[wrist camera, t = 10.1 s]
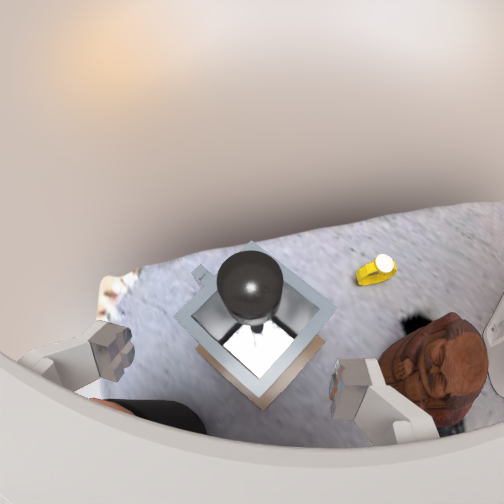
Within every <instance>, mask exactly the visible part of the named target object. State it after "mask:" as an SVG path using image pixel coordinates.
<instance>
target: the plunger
mask: <svg viewBox="0 0 504 504" xmlns="http://www.w3.org/2000/svg"><path fill="white" fill-rule="evenodd" d="M216 282H217V290H218V292H219V295H220V297H221V299H222V301H223V303H224V306H225V308H226V310H227V312H228V313H229V315H230V316H231V317H232V318H233V319H234V320H236V321H237V322H239V323H241V324H243V325H242V326H241V327H240V329H239V330H238V331H237V332H236V333H235V334H234V335H233V336H232V337H231V338H230V339H229V340H228V341H227V342H226V343H225V344H224V345H223V346H224V347H225V348H227V349H228V350H229V351H230V352H231V353H232V354H233V355H234V356H235V357H236V358H237V359H239V360H240V361H241V362H242V363H243V364H244V365H245V366H246V367H248V368H249V369H250V370H251V371H252V372H253V373H254V374H256V375H257V376H258V377H259V378H260V376H261V375H262V374H263V373H264V372H265V371H266V370H267V369H268V368H269V367H270V366H271V365H272V364H273V363H274V361H275V360H276V359H277V358H278V357H279V356H280V355H281V354H282V353H283V352H284V350H285V349H286V348H287V347H288V346H289V345H290V344H291V343H292V341H293V340H294V339H293V338H292V337H290V336H289V335H288V334H287V333H286V332H284V331H283V330H282V329H281V328H280V327H278V326H277V325H276V324H275V323H274V322H272V321H271V320H270V319H272V318H273V317H274V316H275V314H276V313H277V311H278V310H279V307H280V304H281V297H282V289H283V273H282V270H281V268H280V266H279V265H278V263H277V262H276V261H275V260H274V259H273V258H272V257H271V256H269V255H267V254H265V253H263V252H260V251H254V250H248V251H242V252H239V253H236V254H234V255H232V256H231V257H229V258H228V259H227V260H226V261H225V262H224V263H223V264H222V266H221V267H220V269H219V272H218V275H217V281H216Z"/></svg>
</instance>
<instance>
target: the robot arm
mask: <svg viewBox="0 0 504 504" xmlns="http://www.w3.org/2000/svg"><path fill="white" fill-rule="evenodd" d="M131 338H132V334H131V330H130V329H129V328H127V327H124V326H120V325H116V324H113V323H109V322H105V321H102V320H97V321H96V322H95V323H94V324H93V325H92V326H90V327H89V328H88V329H87V330H86V331H85V332H84V333H83V334H81V335H80V336H79V337H78V338H77V337H73V338H70V339H66V340H63V341H59V342H56V343H53V344H49V345H45V346H42V347H38V348H34V349H31V350H30V351H29V352H28V353H27V354H25V355H24V356H23V357H22V358H21V359H19V360H18V361H17V362H16V361H14V360H13V359H11V358H9V357H8V356H6V355H5V354H3V353H2V352H0V504H504V421H502V422H499V423H496V424H493V425H490V426H487V427H483V428H480V429H476V430H473V431H469V432H465V433H461V434H456V435H452V436H447V437H442V438H440V437H439V434H438V431H437V429H436V426H435V424H434V421H433V419H432V416H430V415H429V414H427V413H426V412H425V411H423V410H422V409H421V408H419V407H418V406H417V405H415V404H414V403H412V402H411V401H410V400H408V399H407V398H406V397H404V396H403V395H402V394H400V393H399V392H398V391H396V390H395V389H394V388H392V387H391V386H386V383H385V380H384V378H383V375H382V372H381V369H380V366H379V364H378V361H377V359H376V358H363V359H351V358H337V360H336V363H335V373H334V374H333V375H332V377H331V381H330V387H329V396H330V399H331V400H332V404H331V417H332V420H354V422H355V424H356V425H357V426H358V427H359V428H360V429H361V431H362V432H363V433H364V434H365V435H366V437H367V438H368V439H369V440H370V441H371V442H372V444H373V445H374V446H375V447H358V448H305V447H288V446H276V445H266V444H258V443H250V442H243V441H236V440H230V439H224V438H219V437H213V436H208V435H204V434H199V433H194V432H190V431H186V430H182V429H178V428H174V427H170V426H166V425H163V424H159V423H156V422H152V421H149V420H146V419H142V418H139V417H136V416H133V415H130V414H127V413H124V412H122V411H119V410H116V409H113V408H111V407H108V406H106V405H103V404H100V403H98V402H96V401H93V400H91V399H88V398H86V397H84V396H81V395H79V394H77V393H75V392H74V391H76V390H78V389H80V388H82V387H84V386H86V385H88V384H90V383H92V382H94V381H96V380H98V379H100V377H101V378H104V379H107V380H111V381H114V382H118V381H119V379H120V378H121V377H122V375H123V374H124V368H127V367H129V366H130V365H131V363H132V362H133V359H134V356H135V350H134V345H133V344H132V343H131V341H130V339H131ZM483 338H484V342H485V345H486V348H487V354H488V360H489V367H488V372H489V377H490V380H491V383H492V386H493V388H494V389H495V391H496V392H497V393H498V394H499V395H500V396H502V397H504V294H503V296H502V298H501V300H500V302H499V304H498V306H497V308H496V310H495V312H494V314H493V316H492V318H491V319H490V321H489V323H488V325H487V327H486V328H485V330H484V333H483Z"/></svg>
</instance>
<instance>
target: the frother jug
mask: <svg viewBox="0 0 504 504" xmlns="http://www.w3.org/2000/svg"><path fill="white" fill-rule="evenodd" d="M248 250H254V251H260V252H263V253H265V254H267V255H269V256H271V255H270V254H268V253H267V252H266V251H265V250H263V249H262V248H261V247H259V246H258V245H257V244H255V243H254V242H253V241H250V242H249V243H248V244H247V245H246V246H245V247H244V248H243V249H242V250H241V251H240V252H242V251H248ZM271 257H272V256H271ZM272 258H273V259H274V260H275V261H276V262H277V263H278V265H279V266H280V268H281V270H282V273H283V289H282V297H281V304H280V307H279V310H278V311H277V313H276V314H275V316H274V317H273V318H272V319H270V320H271V321H272V322H274V323H275V324H276V325H277V326H278V327H280V328H281V329H282V330H283V331H284V332H286V333H287V334H288V335H289V336H290V337H292V338H293V339H294V340H293V341H292V343H291V344H290V345H289V346H288V347H287V348H286V349H285V350H284V352H283V353H282V354H281V355H280V356H279V357H278V358H277V359H276V360H275V361H274V363H273V364H272V365H271V366H270V367H269V368H268V369H267V370H266V371H265V372H264V373H263V374H262V375H261V376H260V378H259V377H258V376H257V375H256V374H254V373H253V372H252V371H251V370H250V369H249V368H248V367H246V366H245V365H244V364H243V363H242V362H241V361H240V360H239V359H237V358H236V357H235V356H234V355H233V354H232V353H231V352H230V351H229V350H228V349H227V348H225V347H224V346H223V345H224V344H225V343H226V342H227V341H228V340H229V339H230V338H231V337H232V336H233V335H234V334H235V333H236V332H237V331H238V330H239V329H240V327H241V326H242V325H243V324H241V323H239V322H237V321H236V320H234V319H233V318H232V317H231V316H230V315H229V313H228V312H227V310H226V308H225V306H224V303H223V301H222V299H221V297H220V295H219V292H218V290H217V282H216V281H217V275H218V273H217V274H216V275H215V276H213V275H212V274H211V273H210V272H209V271H208V270H207V269H206V268H204V267H203V266H202V265H201V264H200V265H199V266H198V267H197V268H196V269H195V270H194V271H193V272H192V275H193V277H194V278H195V280H196V282H197V283H198V285H199V287H200V288H201V290H200V291H199V292H198V293H197V294H196V295H195V296H194V297H193V298H192V299H191V300H190V301H189V302H188V303H187V304H186V305H185V306H184V307H183V308H181V309H180V310H179V311H178V312H177V313H176V314H175V315H174V316H173V317H174V318H175V319H176V320H177V321H178V322H179V323H180V324H181V325H182V326H183V327H184V328H185V329H186V330H187V331H188V332H189V333H190V334H191V335H192V336H193V337H194V338H195V339H196V340H197V341H198V342H199V343H200V344H199V345H198V346H197V347H196V348H195V349H196V350H197V351H198V352H199V353H200V354H201V355H202V356H203V357H204V358H205V359H206V360H207V361H208V362H209V363H210V364H211V365H212V366H213V367H214V368H215V369H216V370H217V371H218V372H220V373H221V374H222V375H223V376H224V377H225V378H226V379H227V380H228V381H229V382H230V383H231V384H233V385H234V386H235V387H236V388H237V389H238V390H239V391H240V392H242V393H243V394H244V395H245V396H246V397H247V398H248V399H250V400H251V401H252V402H253V403H254V404H255V405H257V406H258V407H259V408H260V409H261V410H262V411H264V410H265V409H266V408H267V407H268V406H269V405H270V404H271V403H272V402H273V401H274V400H275V399H276V398H277V397H278V395H279V394H280V393H281V392H282V391H283V390H284V389H285V388H286V387H287V386H288V385H289V383H290V382H291V381H292V380H293V379H294V378H295V377H296V376H297V375H298V373H299V372H300V371H301V370H302V369H303V368H304V367H305V365H306V364H307V363H308V362H309V361H310V360H311V358H312V357H313V356H314V355H315V354H316V352H317V351H318V350H319V349H320V348H321V346H322V345H323V344H324V343H325V341H324V340H323V339H322V338H320V337H319V336H318V335H317V333H318V332H319V331H320V329H321V328H322V327H323V326H324V324H325V323H326V322H327V321H328V319H329V318H330V317H331V315H332V314H333V313H334V311H335V310H336V309H337V306H335V305H334V304H333V303H332V302H330V301H329V300H328V299H326V298H325V297H324V296H323V295H321V294H320V293H319V292H317V291H316V290H315V289H314V288H312V287H311V286H310V285H308V284H307V283H306V282H305V281H303V280H302V279H301V278H299V277H298V276H297V275H296V274H294V273H293V272H292V271H290V270H289V269H288V268H287V267H285V266H284V265H283V264H281V263H280V262H279V261H278V260H276V259H275V258H274V257H272Z"/></svg>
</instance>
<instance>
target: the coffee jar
mask: <svg viewBox="0 0 504 504" xmlns="http://www.w3.org/2000/svg"><path fill="white" fill-rule="evenodd" d="M89 399H91V400H93V401H96V402H98V403H100V404H103V405H106V406H108V407H111V408H113V409H116V410H119V411H122V412H124V413H127V414H130V415H133V416H136V417H139V418H142V419H146V420H149V421H152V422H156V423H159V424H163V425H166V426H170V427H174V428H178V429H182V430H186V431H190V432H194V433H199V434H204V435H207V433H206V430H205V427H204V424H203V423H202V422H201V420H200V419H199V417H198V416H197V415H196V414H195V413H194V412H193V411H191V410H190V409H189V408H188V407H186V406H184V405H182V404H180V403H177V402H175V401H167V400H125V399H104V400H101V399H97V398H89Z"/></svg>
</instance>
